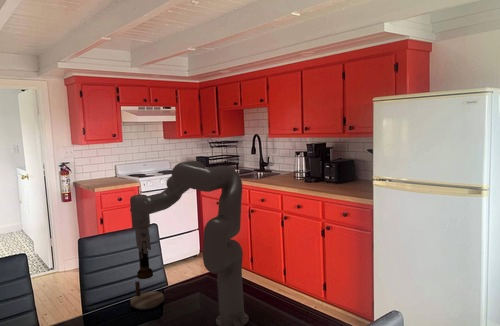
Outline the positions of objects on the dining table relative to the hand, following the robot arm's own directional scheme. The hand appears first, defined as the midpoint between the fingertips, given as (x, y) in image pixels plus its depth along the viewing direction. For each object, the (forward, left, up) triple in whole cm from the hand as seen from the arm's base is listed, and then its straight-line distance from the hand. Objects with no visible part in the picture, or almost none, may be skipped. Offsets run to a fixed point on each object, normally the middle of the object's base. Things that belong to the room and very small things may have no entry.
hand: (144, 264), depth 167 cm
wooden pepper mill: (0, 0, -5) cm, 5 cm away
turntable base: (0, 0, -18) cm, 18 cm away
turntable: (0, 0, -16) cm, 16 cm away
